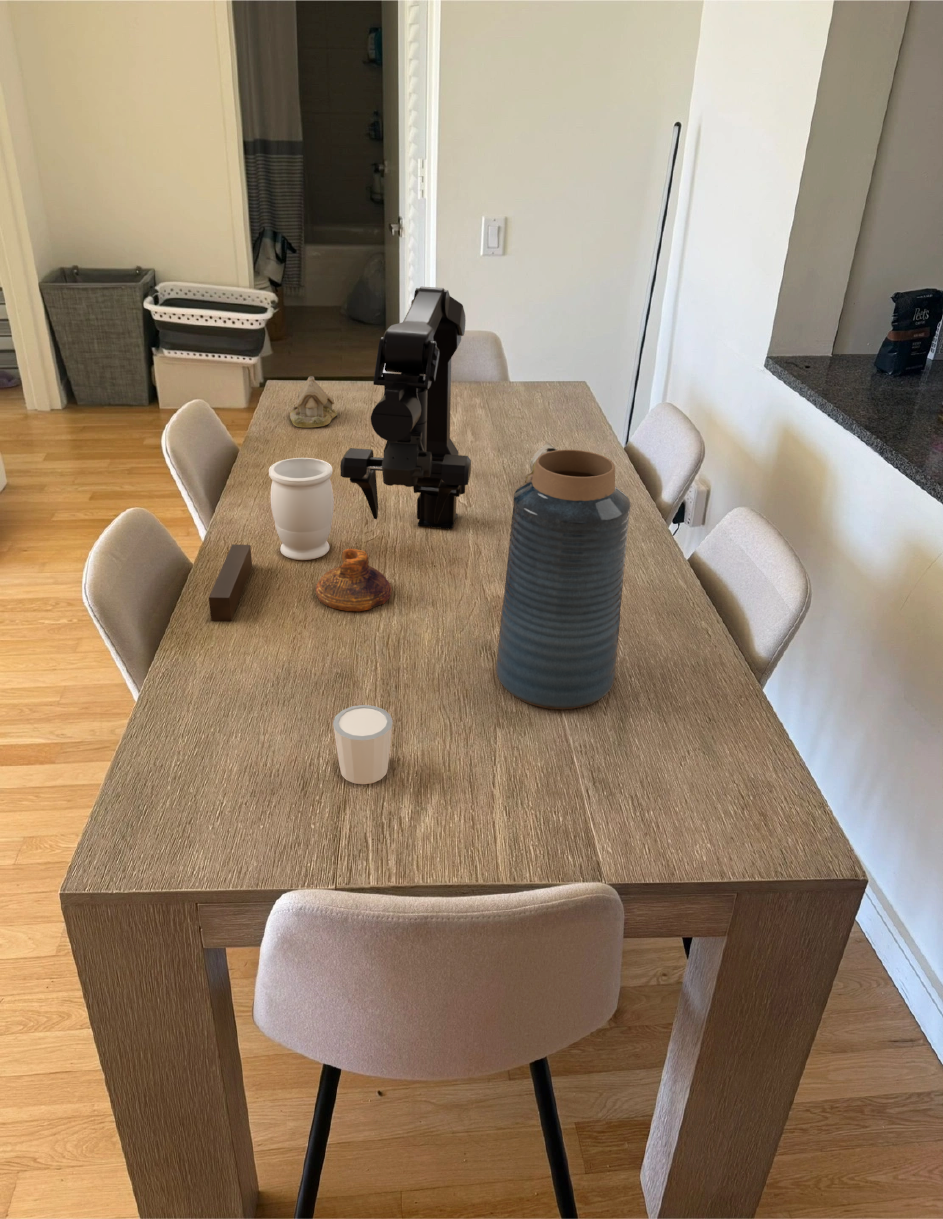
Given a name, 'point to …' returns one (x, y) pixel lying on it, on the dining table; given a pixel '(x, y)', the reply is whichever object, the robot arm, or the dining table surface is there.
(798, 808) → the dining table surface
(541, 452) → the ceramic sculpture
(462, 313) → the robot arm
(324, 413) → the ceramic model
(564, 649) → the vase
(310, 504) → the jar
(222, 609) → the bar
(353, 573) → the brown clay pot
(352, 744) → the white cup
